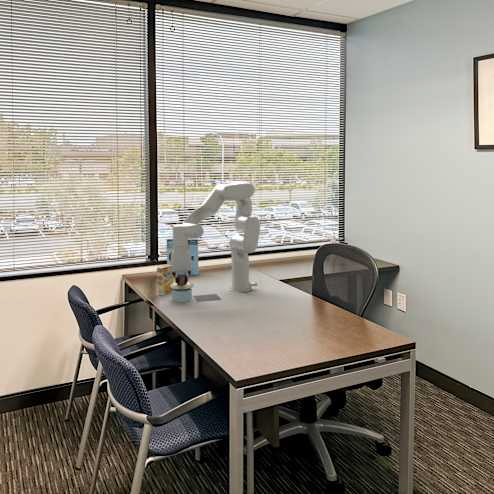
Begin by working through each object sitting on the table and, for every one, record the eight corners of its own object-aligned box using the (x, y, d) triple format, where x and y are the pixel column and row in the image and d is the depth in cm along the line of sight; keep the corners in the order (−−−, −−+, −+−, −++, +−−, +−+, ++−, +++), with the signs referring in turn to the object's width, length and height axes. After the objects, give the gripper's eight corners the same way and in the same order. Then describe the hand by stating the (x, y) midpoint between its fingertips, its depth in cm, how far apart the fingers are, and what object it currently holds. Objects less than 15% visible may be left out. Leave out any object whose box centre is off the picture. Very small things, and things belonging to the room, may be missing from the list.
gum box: (167, 275, 338) (166, 239, 335) (169, 273, 343) (168, 238, 340) (197, 275, 337) (196, 239, 333) (198, 273, 342) (198, 238, 338)
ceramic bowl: (189, 297, 282) (189, 286, 281) (193, 302, 273) (193, 290, 272) (170, 298, 279) (170, 287, 278) (174, 303, 270) (173, 292, 269)
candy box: (163, 296, 285) (162, 268, 283) (157, 295, 288) (156, 267, 285) (173, 292, 293) (172, 265, 291) (167, 291, 295) (166, 264, 293)
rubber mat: (216, 295, 287) (216, 293, 287) (222, 300, 274) (222, 299, 274) (192, 296, 283) (192, 295, 283) (197, 303, 271) (197, 301, 271)
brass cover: (191, 283, 282) (190, 271, 281) (195, 288, 271) (195, 275, 270) (168, 284, 279) (168, 272, 278) (172, 289, 267) (171, 277, 266)
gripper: (195, 246, 278) (196, 281, 280) (163, 248, 273) (164, 283, 276) (198, 249, 270) (199, 284, 273) (165, 251, 266) (166, 286, 269)
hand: (181, 283), depth 275 cm, fingers closed on brass cover, 3 cm apart
